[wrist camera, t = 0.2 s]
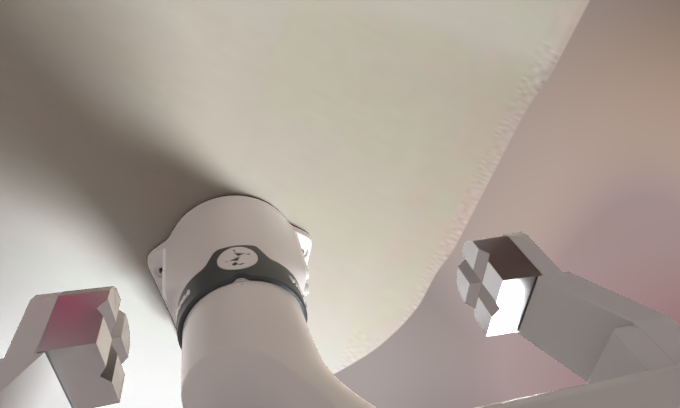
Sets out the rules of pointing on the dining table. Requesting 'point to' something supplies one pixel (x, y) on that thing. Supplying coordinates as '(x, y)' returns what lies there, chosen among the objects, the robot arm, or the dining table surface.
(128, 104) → the dining table surface
